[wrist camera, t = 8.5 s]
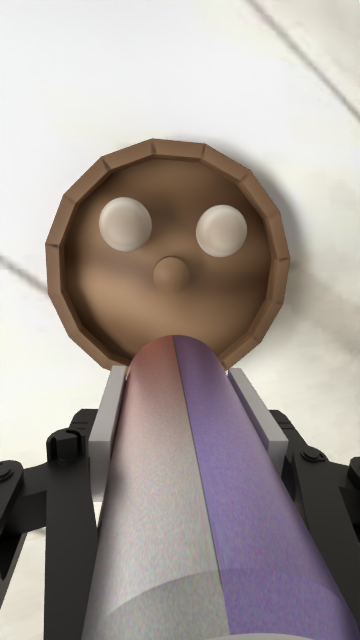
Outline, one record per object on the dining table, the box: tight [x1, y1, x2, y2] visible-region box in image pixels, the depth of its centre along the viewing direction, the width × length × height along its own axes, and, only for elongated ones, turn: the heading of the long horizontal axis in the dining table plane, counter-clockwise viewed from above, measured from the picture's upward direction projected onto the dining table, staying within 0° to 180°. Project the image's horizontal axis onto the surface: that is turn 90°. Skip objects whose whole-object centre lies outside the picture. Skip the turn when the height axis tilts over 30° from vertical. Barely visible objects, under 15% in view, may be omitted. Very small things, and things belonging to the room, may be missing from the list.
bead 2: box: [196, 205, 247, 257], centre depth 24 cm, size 4×4×4 cm
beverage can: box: [81, 335, 360, 640], centre depth 12 cm, size 6×6×15 cm
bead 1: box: [99, 197, 152, 252], centre depth 23 cm, size 4×4×4 cm
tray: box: [45, 139, 290, 377], centre depth 26 cm, size 20×20×3 cm
